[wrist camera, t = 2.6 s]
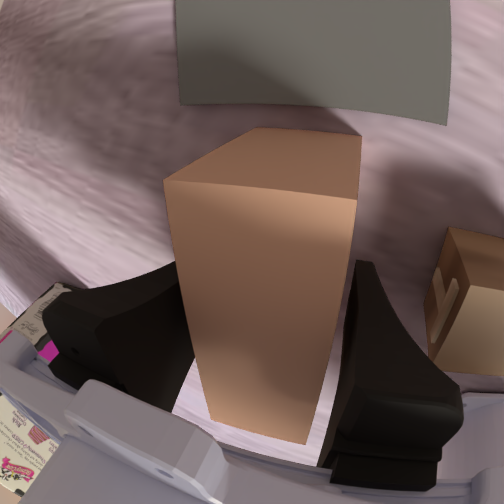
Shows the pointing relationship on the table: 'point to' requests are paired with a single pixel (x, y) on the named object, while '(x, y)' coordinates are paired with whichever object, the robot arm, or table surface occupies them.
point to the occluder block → (265, 270)
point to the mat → (318, 54)
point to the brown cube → (467, 305)
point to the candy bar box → (16, 424)
